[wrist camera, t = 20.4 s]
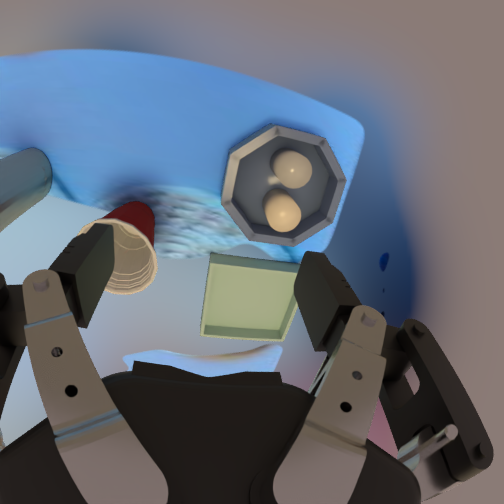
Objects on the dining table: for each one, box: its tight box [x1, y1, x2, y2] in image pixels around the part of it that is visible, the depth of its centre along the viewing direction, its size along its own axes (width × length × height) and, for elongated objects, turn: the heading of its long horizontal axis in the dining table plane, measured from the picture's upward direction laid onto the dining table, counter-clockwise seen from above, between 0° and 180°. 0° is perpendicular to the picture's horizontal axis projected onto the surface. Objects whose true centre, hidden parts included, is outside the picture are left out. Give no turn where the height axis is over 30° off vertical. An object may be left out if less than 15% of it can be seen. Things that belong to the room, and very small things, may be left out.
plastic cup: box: [76, 201, 158, 295], centre depth 34 cm, size 11×11×12 cm
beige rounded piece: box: [270, 148, 312, 188], centre depth 34 cm, size 4×4×5 cm
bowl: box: [221, 124, 346, 247], centre depth 37 cm, size 16×16×4 cm
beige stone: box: [262, 189, 301, 232], centre depth 37 cm, size 4×4×5 cm
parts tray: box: [200, 253, 300, 341], centre depth 47 cm, size 16×16×3 cm
